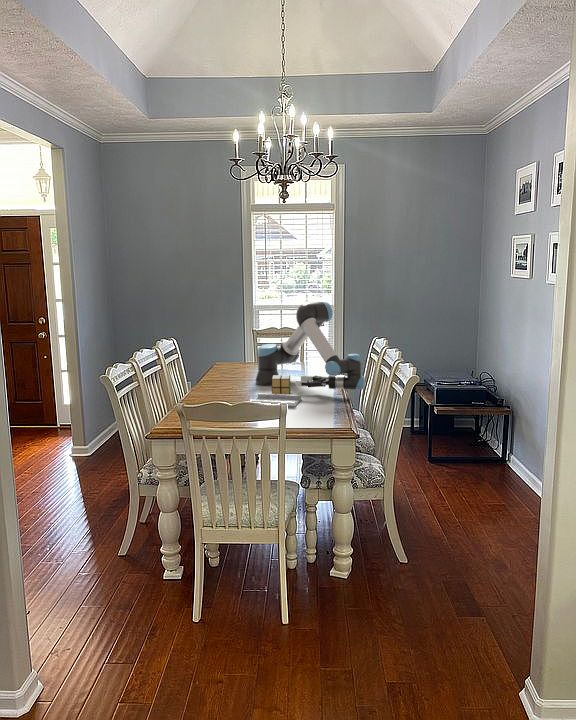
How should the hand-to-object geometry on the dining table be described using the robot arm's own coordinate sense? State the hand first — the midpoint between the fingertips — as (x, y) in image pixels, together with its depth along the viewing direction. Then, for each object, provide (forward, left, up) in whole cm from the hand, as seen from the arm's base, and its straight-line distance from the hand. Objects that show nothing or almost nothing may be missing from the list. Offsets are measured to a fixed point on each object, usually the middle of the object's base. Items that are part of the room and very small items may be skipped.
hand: (298, 380), depth 331 cm
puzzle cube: (-10, 0, -8) cm, 13 cm away
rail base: (-8, -20, -8) cm, 23 cm away
